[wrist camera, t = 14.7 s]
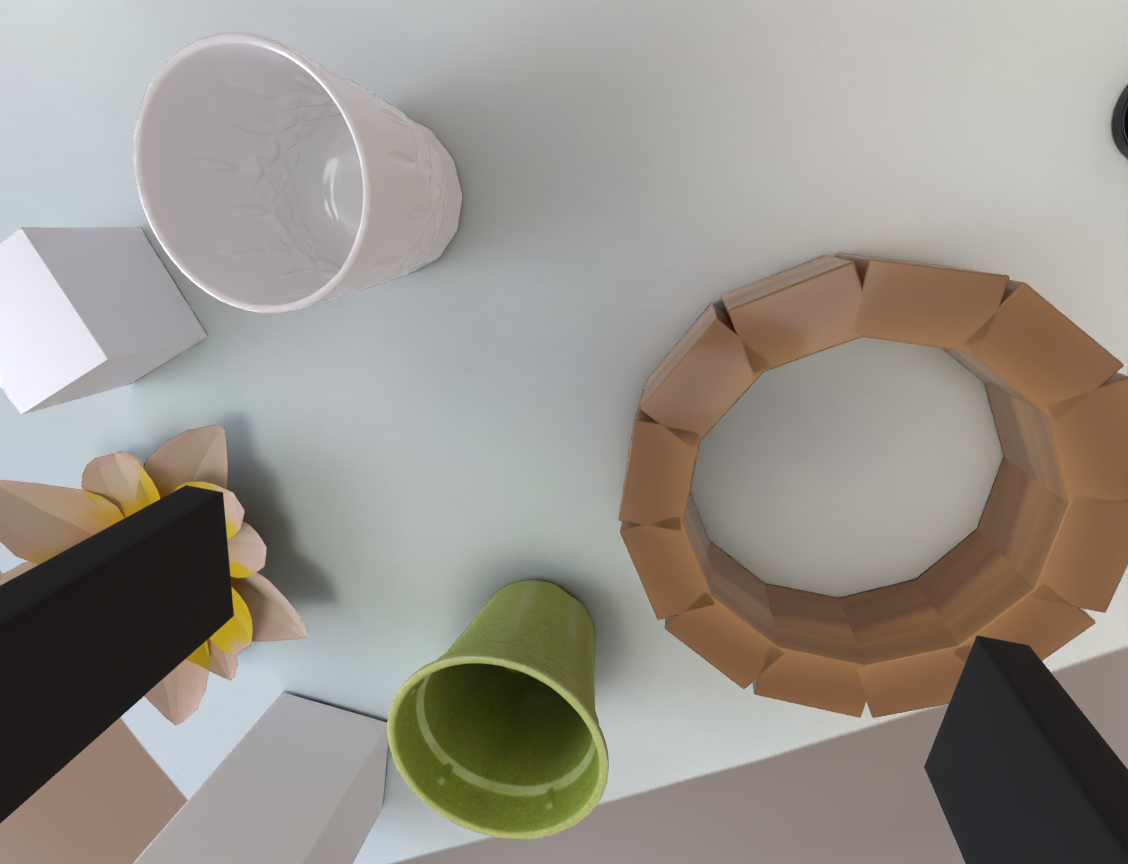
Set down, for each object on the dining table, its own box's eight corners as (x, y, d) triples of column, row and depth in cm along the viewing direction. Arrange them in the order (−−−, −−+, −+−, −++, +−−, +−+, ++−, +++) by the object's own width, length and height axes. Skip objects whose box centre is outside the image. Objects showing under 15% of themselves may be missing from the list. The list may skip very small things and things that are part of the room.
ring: (668, 232, 27) (664, 233, 22) (1141, 290, 24) (1249, 305, 20) (608, 598, 33) (595, 659, 28) (984, 675, 30) (1038, 757, 26)
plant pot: (642, 695, 34) (628, 841, 26) (481, 705, 36) (421, 842, 28) (607, 540, 32) (579, 648, 24) (436, 561, 34) (357, 666, 26)
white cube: (140, 227, 31) (21, 226, 26) (208, 336, 32) (108, 359, 27) (62, 283, 33) (-66, 294, 27) (129, 384, 34) (20, 415, 29)
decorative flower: (352, 671, 35) (181, 813, 26) (222, 659, 40) (44, 774, 31) (270, 409, 32) (49, 472, 23) (142, 432, 37) (-78, 491, 29)
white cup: (504, 150, 27) (407, 108, 18) (437, 315, 30) (323, 356, 20) (342, 66, 27) (161, -19, 18) (291, 238, 30) (111, 244, 21)
